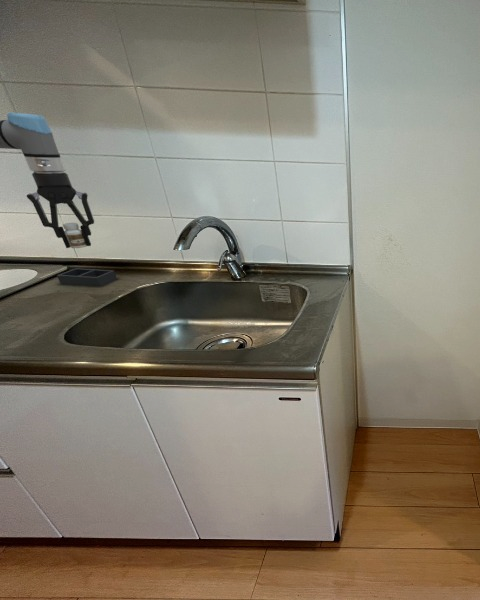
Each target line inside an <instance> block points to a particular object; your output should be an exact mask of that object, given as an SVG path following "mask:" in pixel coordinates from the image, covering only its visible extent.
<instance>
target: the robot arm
mask: <svg viewBox="0 0 480 600" xmlns="http://www.w3.org/2000/svg"><path fill="white" fill-rule="evenodd" d="M6 117H7V119H0V149H6V150H7V149H8V150H21V152H22V154H23V156H24V159H25V161H26V164H27V166H28V169H29V171H31V172H32V173H31V176H32V178H33V181H34V182H35V185H36V187H37V189H36V191H35V192H33V193H28V194H27V195H26V198H27V199H28V200H29V201H30V202H31V204H32V205H33V207H34V209H35V211H36V213H37V216H38V217H39V219H40V222H41V224H42V226H43V227H45V228H52V229H53V232H54V234H55V236H56V238H58V239H62V241H63V243H64V246H65V249H70V248H71V247H70V246H69V243H68V241H67V239H66V236H65V234H64V231H65V229H64V227H63V226H60V225H59V215H58V214H59V213H58V205H59V204H64V205H67V206H68V207H69V209H70V211H72V213H73V214H74V216H75V217H76V218H77V220H78V221H79V223H80V224H81V225H80V226H79V229H80V230H82V233H83V236H84V238H85V241H86V243H87V246H86V247H91V246H92V242H91V240H90V237H89V236H92V231H91V228H90V226H91V225H94V224H95V218H94V216H93V213H92V211H91V207H90V204H89V202H88V196H89V193H87V192H81V191H77V190H76V189H75V188H74V187H73V185H72V182H71V180H70V177H69V175H68V173H66V172H65V171H66V166H65V165H64V161H63V159H62V157H61V155H60V152H59V149H58V148H57V143H56V142H55V137H54V135H53V132H52V130H51V128H50V126H49V124H48V121H47V120H46V118H45V117H44V116H42V115H39V114H33V113H31V114H30V113H22V112H19V113H18V112H7V113H6ZM75 196H77V198H78V199H79V200H81V204H82V207H83V210H84V212H85V215H86V218H87V220H86V218H85V217H84V215H83V214H82V213H81V211H80V210H79V208H78V206H77V205H76V203H75V202H74V201H73V200H74V199H75ZM40 197H41V198H43V199H45V201H47V202H49V210H50V221H49V219H48V217H47V214H46V212H45V210H44V208H43V206H42V204H41V201H40V199H41V198H40Z"/></svg>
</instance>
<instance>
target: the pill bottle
mask: <svg viewBox="0 0 480 600" xmlns="http://www.w3.org/2000/svg"><path fill="white" fill-rule="evenodd" d="M62 227H63V229H64V234H65V236H66V239H67V241H68V243H69V246H70V248H71V249H82V248H86V247H88V246H87V243H86V241H85V238H84V236H83V233H82V230H81V228H80V226H79V224H78V222H67V223H63V224H62Z"/></svg>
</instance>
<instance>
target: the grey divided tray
mask: <svg viewBox="0 0 480 600" xmlns="http://www.w3.org/2000/svg"><path fill="white" fill-rule="evenodd" d="M56 277H57V279H58V282H59V284H60V285H63V286H64V285H65V286H79V287H80V286H82V287H97V288H101V287H103V286H105V285H108V284H110V283H112V282H115V281H116V280H118V278H117V275H116V272H115V270H112V269H111V270H110V269H95V268H94V269H93V268H80V267H79V268H78V267H77V268H76V267H75V268H73V269H70V270H67V271H65V272H62V273H59V274H56Z"/></svg>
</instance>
